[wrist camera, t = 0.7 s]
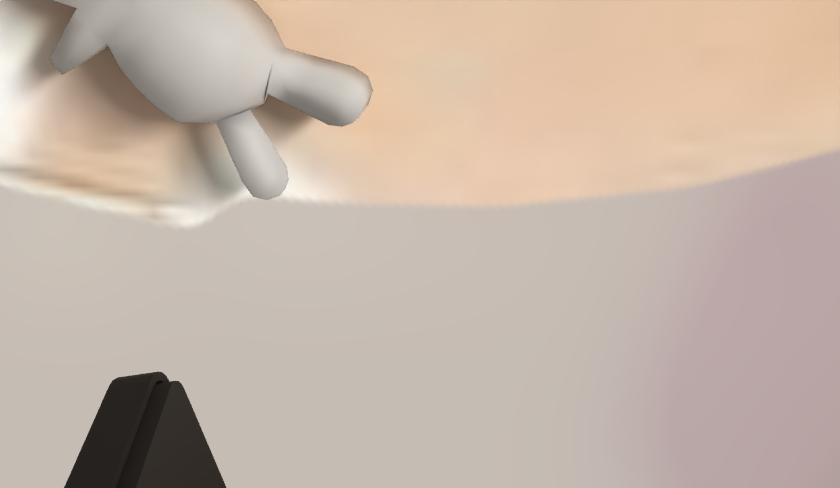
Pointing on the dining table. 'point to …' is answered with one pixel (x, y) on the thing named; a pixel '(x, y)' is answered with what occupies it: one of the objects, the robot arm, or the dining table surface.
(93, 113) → the dining table surface
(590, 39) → the dining table surface
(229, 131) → the white figure shaped piece
